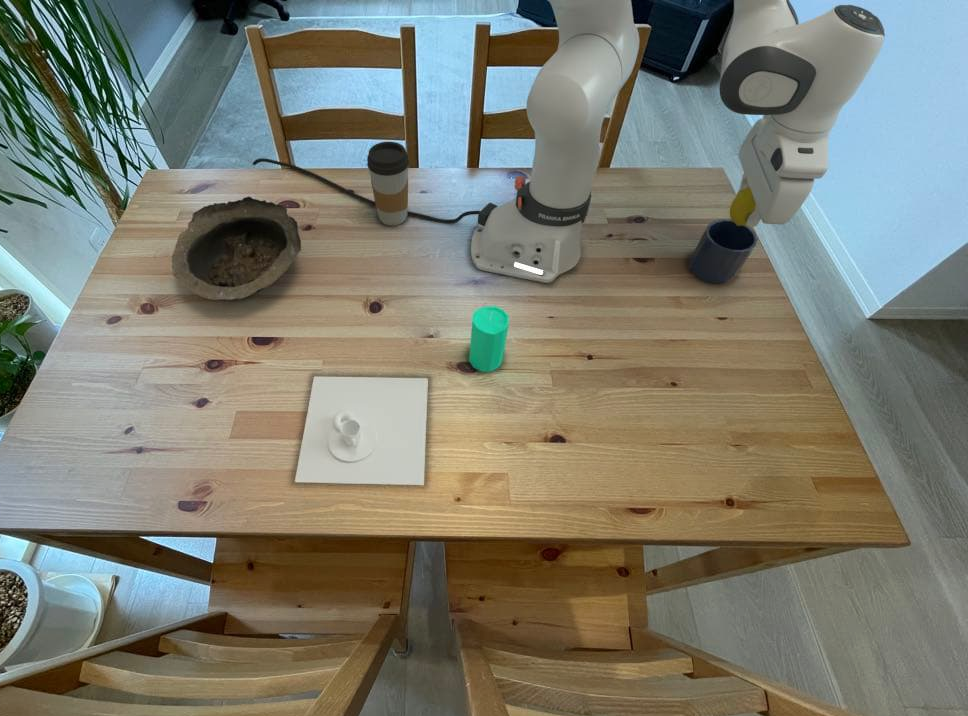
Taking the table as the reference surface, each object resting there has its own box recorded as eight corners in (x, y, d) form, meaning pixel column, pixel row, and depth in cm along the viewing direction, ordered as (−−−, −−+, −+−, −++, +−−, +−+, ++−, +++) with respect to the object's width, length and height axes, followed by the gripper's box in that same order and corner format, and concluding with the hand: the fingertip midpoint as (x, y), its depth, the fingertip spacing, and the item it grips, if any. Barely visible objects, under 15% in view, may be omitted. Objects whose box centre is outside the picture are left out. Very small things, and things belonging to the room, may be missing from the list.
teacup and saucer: (332, 414, 85) (328, 401, 82) (380, 415, 85) (377, 402, 82) (325, 462, 81) (320, 450, 77) (375, 463, 80) (372, 451, 77)
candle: (464, 366, 90) (467, 321, 80) (474, 341, 93) (479, 294, 83) (497, 376, 89) (504, 331, 79) (506, 350, 92) (514, 303, 82)
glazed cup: (692, 282, 100) (711, 250, 93) (685, 250, 105) (702, 218, 98) (740, 285, 99) (762, 253, 93) (730, 253, 104) (751, 220, 97)
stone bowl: (294, 219, 112) (285, 183, 103) (320, 305, 101) (311, 272, 92) (178, 243, 108) (158, 208, 99) (191, 336, 96) (170, 304, 88)
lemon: (755, 236, 92) (781, 197, 85) (723, 233, 92) (745, 194, 86) (751, 217, 95) (775, 177, 88) (720, 213, 95) (741, 174, 89)
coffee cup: (378, 203, 115) (370, 138, 102) (414, 206, 114) (411, 141, 101) (370, 228, 110) (361, 163, 98) (408, 231, 110) (404, 166, 97)
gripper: (754, 99, 85) (715, 175, 97) (786, 173, 74) (739, 249, 86) (793, 101, 85) (750, 177, 96) (832, 176, 74) (778, 251, 86)
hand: (745, 211), depth 91 cm, fingers closed on lemon, 5 cm apart
